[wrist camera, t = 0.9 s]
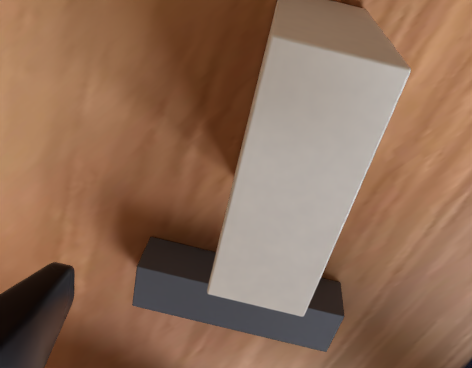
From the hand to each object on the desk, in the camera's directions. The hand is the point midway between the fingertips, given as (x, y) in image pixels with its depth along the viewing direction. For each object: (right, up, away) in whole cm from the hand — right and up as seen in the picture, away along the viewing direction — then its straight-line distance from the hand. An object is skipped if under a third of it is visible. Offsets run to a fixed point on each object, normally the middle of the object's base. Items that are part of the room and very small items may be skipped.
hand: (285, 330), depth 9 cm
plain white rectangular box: (+1, +7, +11) cm, 13 cm away
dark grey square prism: (-1, -2, +16) cm, 17 cm away
